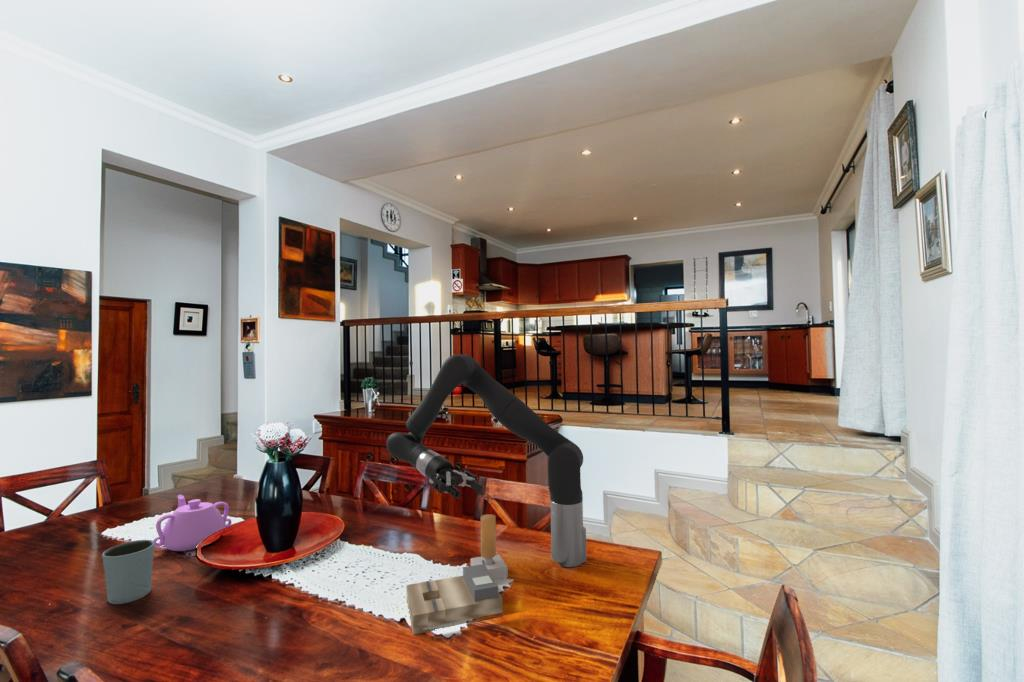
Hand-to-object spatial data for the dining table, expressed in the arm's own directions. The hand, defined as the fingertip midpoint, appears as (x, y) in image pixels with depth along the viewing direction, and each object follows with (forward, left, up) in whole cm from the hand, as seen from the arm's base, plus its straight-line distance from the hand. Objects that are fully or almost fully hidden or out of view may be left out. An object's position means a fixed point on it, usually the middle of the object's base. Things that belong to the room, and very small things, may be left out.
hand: (470, 492), depth 130 cm
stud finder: (+2, +18, -17) cm, 25 cm away
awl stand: (-3, +6, -21) cm, 22 cm away
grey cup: (+85, -16, -21) cm, 89 cm away
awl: (-3, +6, -20) cm, 21 cm away
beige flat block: (+9, +18, -21) cm, 29 cm away
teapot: (+81, -50, -21) cm, 98 cm away
